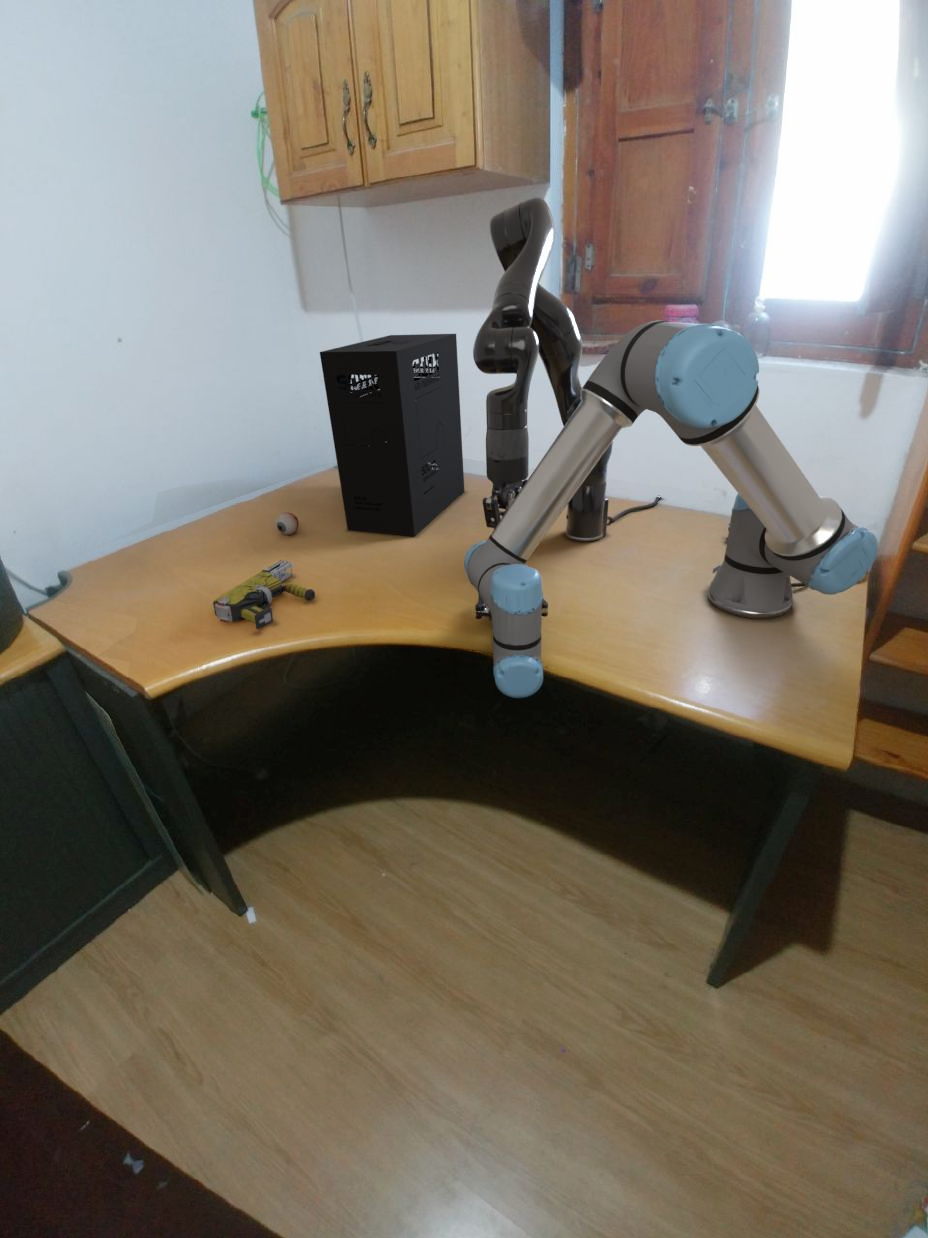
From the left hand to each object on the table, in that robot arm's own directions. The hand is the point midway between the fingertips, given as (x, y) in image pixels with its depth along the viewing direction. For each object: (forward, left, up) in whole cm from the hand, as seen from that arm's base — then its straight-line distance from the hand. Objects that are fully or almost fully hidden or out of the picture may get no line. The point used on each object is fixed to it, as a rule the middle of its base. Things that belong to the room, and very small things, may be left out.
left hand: (508, 540), depth 115 cm
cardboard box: (0, -67, -15) cm, 69 cm away
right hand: (-2, -5, -9) cm, 11 cm away
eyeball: (+35, -65, -15) cm, 76 cm away
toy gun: (+43, -25, -15) cm, 52 cm away
